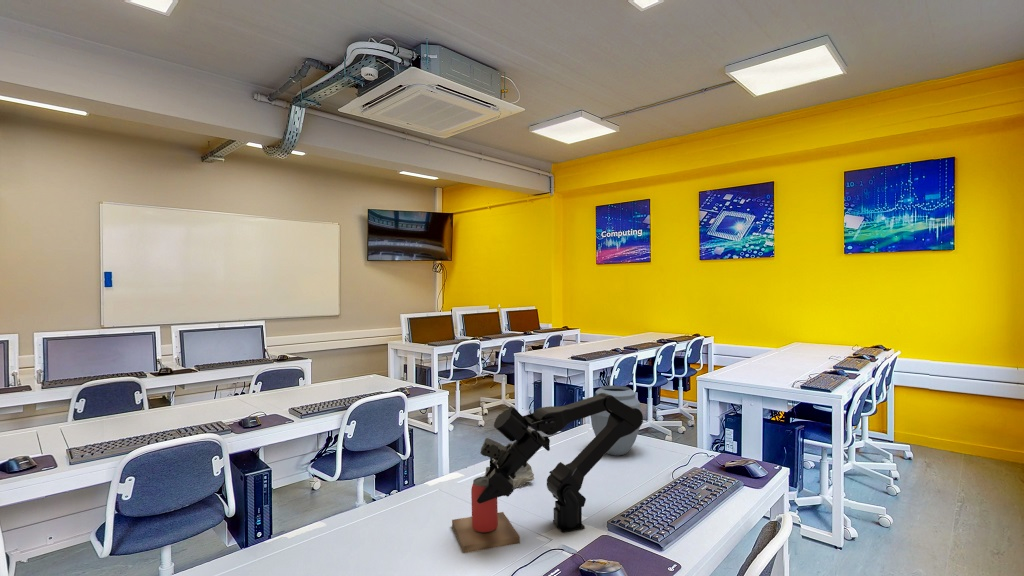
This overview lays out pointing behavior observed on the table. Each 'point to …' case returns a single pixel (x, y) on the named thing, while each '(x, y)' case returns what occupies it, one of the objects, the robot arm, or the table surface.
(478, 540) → the walnut block
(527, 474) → the grey irregular stone
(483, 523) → the beer can
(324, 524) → the table surface
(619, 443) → the vase
